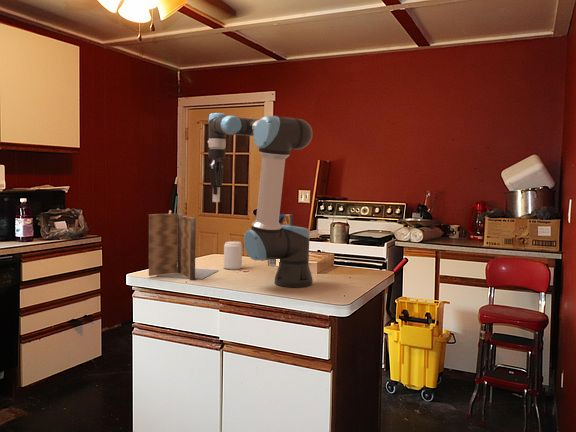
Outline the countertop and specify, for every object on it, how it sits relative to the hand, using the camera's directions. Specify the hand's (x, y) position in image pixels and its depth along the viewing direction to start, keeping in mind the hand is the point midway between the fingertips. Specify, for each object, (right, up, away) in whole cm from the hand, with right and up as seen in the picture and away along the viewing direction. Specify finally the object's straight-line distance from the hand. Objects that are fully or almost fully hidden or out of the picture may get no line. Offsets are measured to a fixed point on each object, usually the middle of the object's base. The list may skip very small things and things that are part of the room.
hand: (216, 201), depth 232 cm
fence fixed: (-10, -32, -17) cm, 37 cm away
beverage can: (+7, -31, +5) cm, 32 cm away
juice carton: (+28, -30, +19) cm, 45 cm away
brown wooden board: (-20, -30, -16) cm, 40 cm away
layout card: (-10, -31, -10) cm, 34 cm away
